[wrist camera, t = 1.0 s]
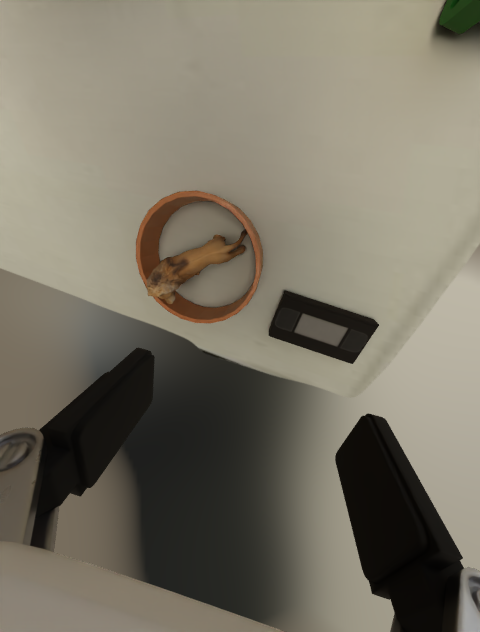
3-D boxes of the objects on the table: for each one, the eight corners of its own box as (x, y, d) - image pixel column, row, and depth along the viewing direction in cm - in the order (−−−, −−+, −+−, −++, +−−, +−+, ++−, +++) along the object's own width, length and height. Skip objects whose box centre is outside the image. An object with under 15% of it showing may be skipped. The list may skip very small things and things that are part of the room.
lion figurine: (184, 293, 35) (157, 314, 27) (164, 266, 34) (129, 280, 26) (258, 243, 30) (251, 251, 22) (237, 209, 29) (222, 204, 21)
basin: (134, 240, 33) (111, 242, 28) (221, 167, 27) (210, 155, 23) (197, 326, 38) (186, 340, 33) (283, 279, 32) (284, 288, 27)
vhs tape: (348, 356, 35) (352, 364, 33) (268, 330, 35) (268, 335, 34) (373, 319, 32) (379, 324, 30) (284, 290, 32) (285, 293, 30)
